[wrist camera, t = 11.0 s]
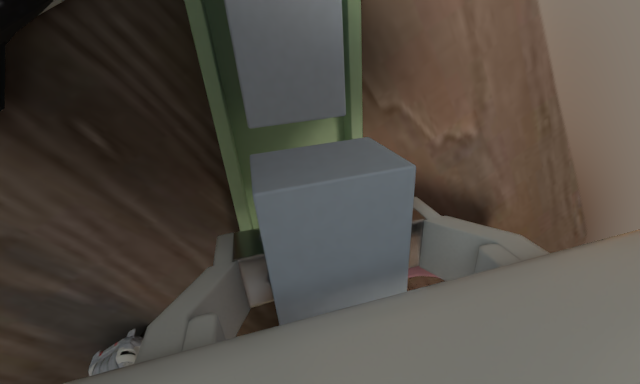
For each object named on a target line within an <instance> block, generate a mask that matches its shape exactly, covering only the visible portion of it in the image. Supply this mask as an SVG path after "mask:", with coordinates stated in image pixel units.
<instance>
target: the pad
mask: <svg viewBox="0 0 640 384" xmlns="http://www.w3.org/2000/svg"><path fill="white" fill-rule="evenodd" d="M249 158H250V169H251V181H252V193H253V200H254V205H255V209H256V214H257V219H258V224H259V229H260V234H261V238H262V243H263V248H264V253H265V258H266V263H267V267H268V272H269V277H270V282H271V287H272V292H273V296H274V301H275V306H276V311H277V316H278V321H279V325H283V324H287V323H291V322H294V321H298V320H302V319H306V318H309V317H313V316H317V315H321V314H324V313H328V312H332V311H336V310H339V309H343V308H347V307H351V306H354V305H358V304H362V303H366V302H370V301H373V300H377V299H381V298H385V297H388V296H392V295H396V294H400V293H403V292H407V281H408V268H409V254H410V241H411V228H412V215H413V202H414V189H415V176H416V166H415V165H414V164H412V163H410V162H409V161H407V160H406V159H404V158H402V157H401V156H399V155H397V154H396V153H394V152H392V151H391V150H389V149H388V148H386V147H384V146H383V145H381V144H379V143H378V142H376V141H374V140H373V139H371V138H369V137H364V138H358V139H351V140H344V141H338V142H331V143H324V144H318V145H311V146H304V147H298V148H291V149H284V150H278V151H271V152H265V153H258V154H251V155H250V157H249Z"/></svg>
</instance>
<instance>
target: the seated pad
mask: <svg viewBox="0 0 640 384" xmlns="http://www.w3.org/2000/svg"><path fill="white" fill-rule="evenodd" d="M224 4H225V9H226V14H227V20H228V25H229V30H230V35H231V41H232V46H233V51H234V56H235V61H236V67H237V72H238V77H239V82H240V88H241V93H242V98H243V103H244V109H245V114H246V119H247V124H248V127H249V128H259V127H266V126H274V125H281V124H289V123H296V122H304V121H311V120H319V119H327V118H334V117H342V116H345V115H346V99H345V73H344V46H343V20H342V0H224Z"/></svg>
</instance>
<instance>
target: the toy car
mask: <svg viewBox="0 0 640 384" xmlns="http://www.w3.org/2000/svg"><path fill="white" fill-rule="evenodd" d="M135 331H136V329H133V330H131V331H129V332H128V335H127V337H125V338H123V339H121V340H120V341H119V342H116V343H115V344H114V345H112V346H110V347H109V348H107V349H106V350H105V351H102V353H101V351H100V350H99V351H98V352H97V353H96V354H95V355H94V356H93V358H92V361H91V364H90V366H89V370H88V372H89V376H92V375H95V374H99V373H103V372H107V371H110V370H114V369H118V368H122V367H125V366H129V365H133V364H134V363H135V360H136V357H137V354H138V352H139V349H140V346H141V343H142V340H143V338H144V335H145V332H146V331H145V332H144V333H142V334H141V335H140V336H135Z"/></svg>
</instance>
